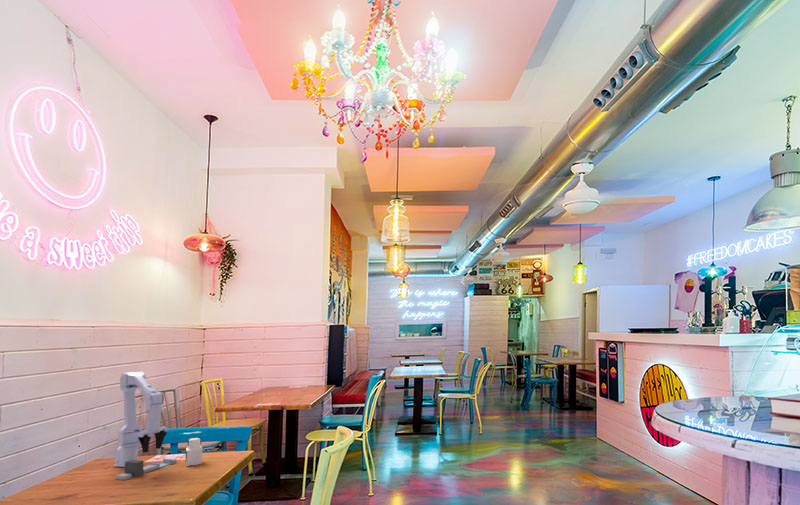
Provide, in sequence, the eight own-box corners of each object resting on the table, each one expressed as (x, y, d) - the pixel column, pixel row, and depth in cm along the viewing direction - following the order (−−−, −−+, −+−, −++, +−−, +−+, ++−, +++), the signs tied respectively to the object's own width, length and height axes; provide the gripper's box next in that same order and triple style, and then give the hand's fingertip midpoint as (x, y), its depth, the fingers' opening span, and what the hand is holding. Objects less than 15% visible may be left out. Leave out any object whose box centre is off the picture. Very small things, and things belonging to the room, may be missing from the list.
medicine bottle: (185, 463, 242) (186, 437, 244) (201, 461, 245) (201, 435, 247) (185, 466, 236) (186, 440, 238) (202, 464, 239) (202, 438, 241)
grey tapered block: (124, 475, 223) (124, 461, 223) (130, 473, 226) (131, 459, 227) (136, 476, 220) (137, 462, 221) (142, 474, 224) (143, 460, 225)
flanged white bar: (115, 479, 217) (116, 474, 218) (168, 461, 245) (168, 457, 246) (124, 479, 216) (124, 474, 216) (176, 462, 244) (176, 457, 244)
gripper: (148, 422, 222) (146, 454, 220) (172, 417, 236) (170, 447, 234) (135, 422, 224) (133, 453, 222) (160, 416, 238) (158, 446, 236)
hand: (151, 450), depth 228 cm, fingers open, 7 cm apart
